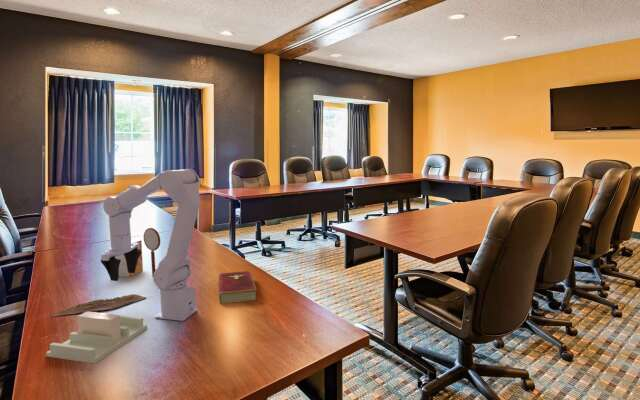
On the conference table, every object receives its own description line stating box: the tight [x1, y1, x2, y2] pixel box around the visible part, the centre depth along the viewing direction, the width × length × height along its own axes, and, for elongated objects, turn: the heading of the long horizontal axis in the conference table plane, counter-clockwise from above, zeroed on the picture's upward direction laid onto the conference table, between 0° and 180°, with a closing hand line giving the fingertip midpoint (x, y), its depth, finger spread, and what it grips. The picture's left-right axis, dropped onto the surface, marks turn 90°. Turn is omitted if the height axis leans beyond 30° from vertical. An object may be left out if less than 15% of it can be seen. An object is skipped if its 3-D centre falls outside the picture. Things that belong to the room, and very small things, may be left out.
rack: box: [45, 314, 148, 364], centre depth 100 cm, size 14×18×3 cm
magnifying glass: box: [143, 227, 161, 278], centre depth 146 cm, size 9×2×20 cm, turn 61°
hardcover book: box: [218, 270, 258, 304], centre depth 136 cm, size 12×21×4 cm, turn 15°
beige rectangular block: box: [77, 311, 121, 342], centre depth 99 cm, size 10×3×6 cm, turn 77°
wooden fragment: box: [52, 293, 146, 317], centre depth 122 cm, size 26×11×1 cm, turn 120°
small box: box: [115, 238, 144, 278], centre depth 153 cm, size 8×6×13 cm
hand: (123, 276), depth 122 cm, fingers open, 7 cm apart
